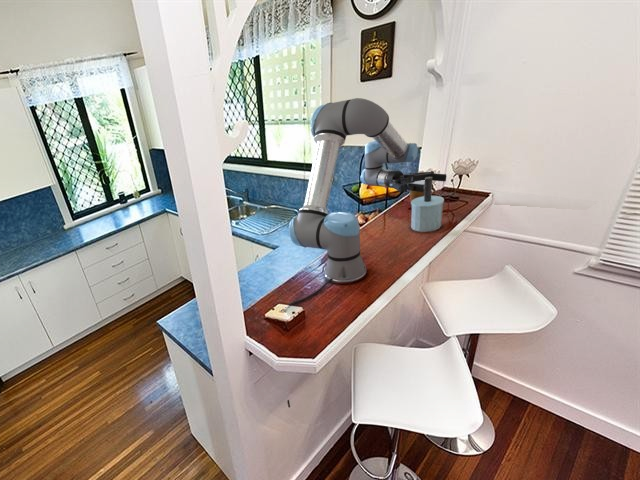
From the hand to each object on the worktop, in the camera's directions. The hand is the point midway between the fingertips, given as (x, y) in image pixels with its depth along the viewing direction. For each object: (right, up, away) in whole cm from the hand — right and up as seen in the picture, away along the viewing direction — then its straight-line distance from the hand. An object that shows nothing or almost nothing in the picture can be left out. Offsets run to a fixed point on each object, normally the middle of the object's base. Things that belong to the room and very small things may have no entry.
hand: (434, 183), depth 139 cm
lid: (+1, -6, +6) cm, 9 cm away
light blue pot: (+3, -15, +12) cm, 20 cm away
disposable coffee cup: (+11, 0, +34) cm, 36 cm away
